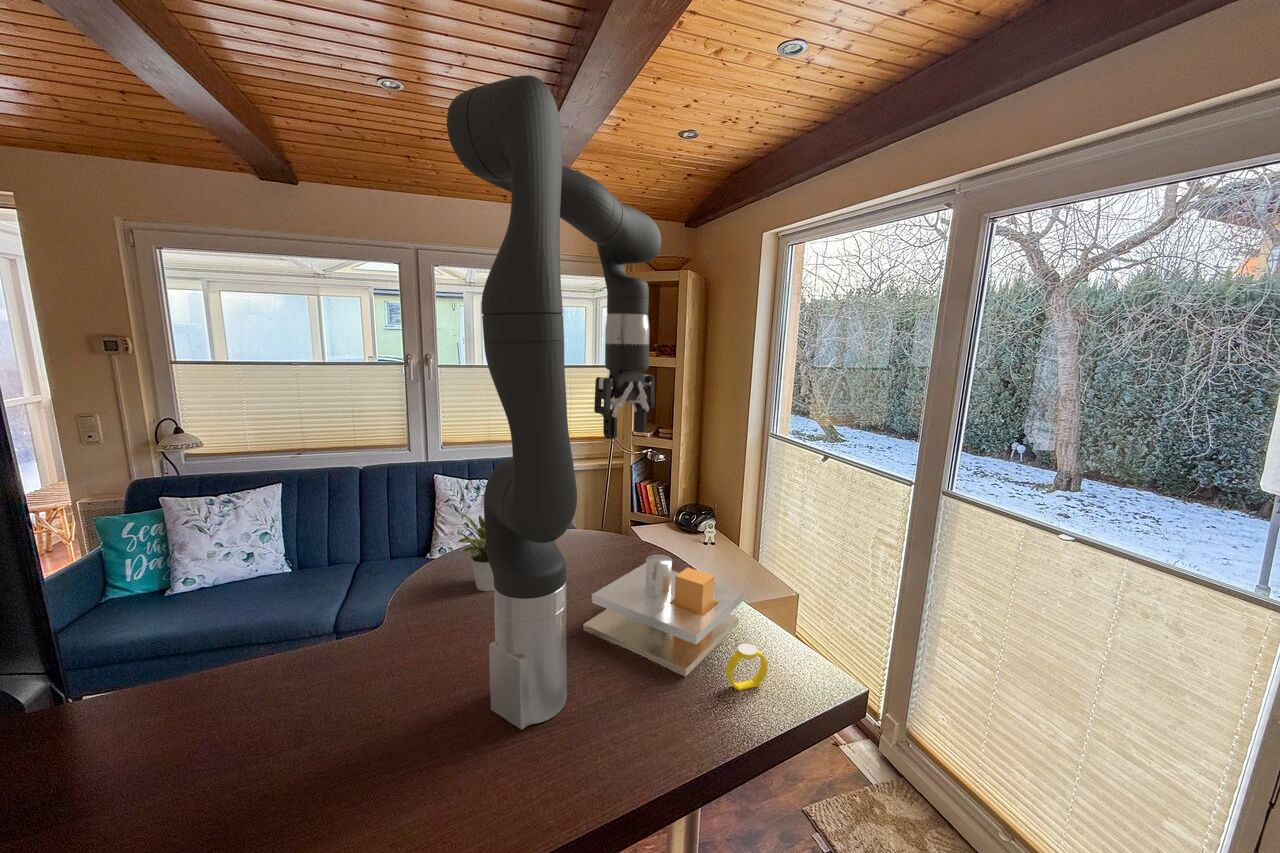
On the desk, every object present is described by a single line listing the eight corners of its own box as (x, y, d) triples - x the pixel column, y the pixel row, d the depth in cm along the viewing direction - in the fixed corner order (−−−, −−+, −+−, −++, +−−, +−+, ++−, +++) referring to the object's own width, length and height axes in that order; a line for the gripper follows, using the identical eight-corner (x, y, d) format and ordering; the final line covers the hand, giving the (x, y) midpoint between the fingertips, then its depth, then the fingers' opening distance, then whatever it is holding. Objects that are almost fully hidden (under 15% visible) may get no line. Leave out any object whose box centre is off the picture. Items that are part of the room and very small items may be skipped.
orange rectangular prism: (700, 643, 81) (703, 584, 80) (673, 633, 84) (675, 576, 82) (711, 632, 84) (714, 575, 83) (685, 622, 87) (687, 567, 86)
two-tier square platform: (691, 679, 74) (694, 602, 72) (583, 630, 86) (583, 563, 84) (743, 625, 89) (747, 560, 87) (644, 590, 101) (645, 532, 99)
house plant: (446, 574, 106) (443, 498, 103) (513, 563, 112) (512, 491, 109) (452, 606, 93) (449, 520, 91) (528, 592, 99) (527, 511, 96)
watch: (732, 698, 71) (732, 659, 70) (723, 685, 74) (722, 648, 73) (770, 687, 73) (770, 649, 72) (760, 675, 76) (759, 638, 74)
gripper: (618, 341, 79) (617, 444, 82) (668, 342, 91) (665, 432, 94) (582, 341, 84) (582, 438, 86) (634, 342, 95) (632, 427, 98)
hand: (625, 435), depth 90 cm, fingers open, 8 cm apart
